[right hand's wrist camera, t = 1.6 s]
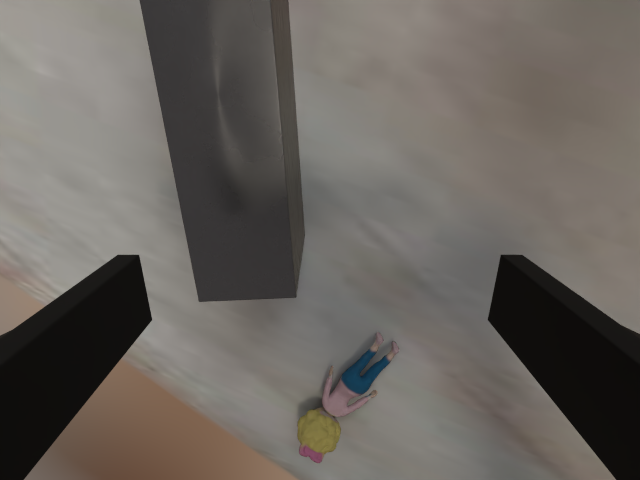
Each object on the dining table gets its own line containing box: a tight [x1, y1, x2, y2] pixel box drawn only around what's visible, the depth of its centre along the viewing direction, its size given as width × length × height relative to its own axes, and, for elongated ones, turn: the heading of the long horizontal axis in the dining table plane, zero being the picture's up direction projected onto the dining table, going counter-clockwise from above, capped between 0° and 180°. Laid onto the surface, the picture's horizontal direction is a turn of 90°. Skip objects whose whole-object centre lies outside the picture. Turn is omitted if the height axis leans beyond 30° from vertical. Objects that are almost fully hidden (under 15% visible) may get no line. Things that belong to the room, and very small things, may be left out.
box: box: [140, 0, 305, 302], centre depth 23 cm, size 23×6×12 cm, turn 3°
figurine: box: [298, 332, 399, 463], centre depth 36 cm, size 6×4×15 cm
